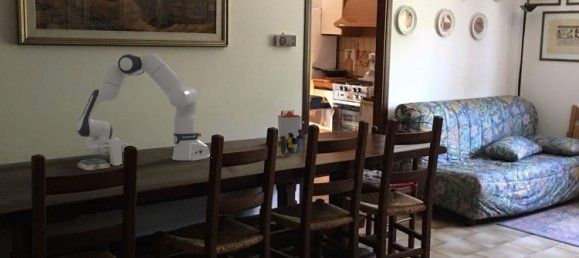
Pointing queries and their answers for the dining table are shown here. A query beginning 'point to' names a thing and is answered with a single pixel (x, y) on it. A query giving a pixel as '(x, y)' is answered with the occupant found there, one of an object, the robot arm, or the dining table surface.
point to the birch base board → (93, 164)
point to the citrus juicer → (289, 124)
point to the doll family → (291, 143)
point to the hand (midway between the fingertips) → (114, 149)
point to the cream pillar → (115, 151)
